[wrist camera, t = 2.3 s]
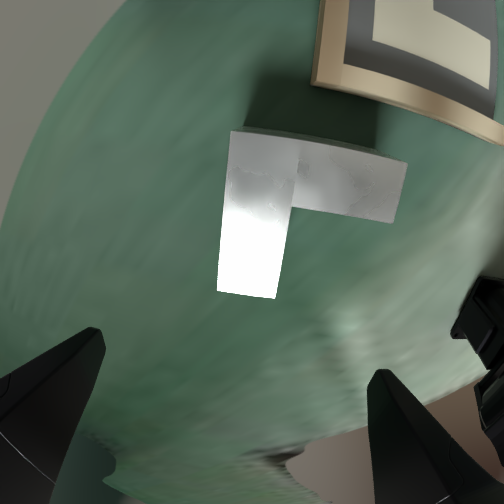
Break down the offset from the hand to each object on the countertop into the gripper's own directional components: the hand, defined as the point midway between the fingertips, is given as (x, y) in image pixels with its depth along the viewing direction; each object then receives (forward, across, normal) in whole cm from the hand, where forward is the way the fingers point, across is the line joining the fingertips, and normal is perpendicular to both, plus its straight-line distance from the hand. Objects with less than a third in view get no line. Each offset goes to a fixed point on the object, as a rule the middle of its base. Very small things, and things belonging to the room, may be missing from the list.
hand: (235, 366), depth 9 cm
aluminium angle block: (+12, -2, -2) cm, 12 cm away
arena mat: (+12, -8, -16) cm, 21 cm away
